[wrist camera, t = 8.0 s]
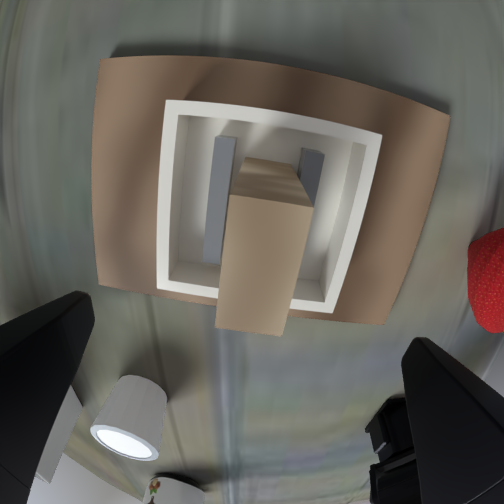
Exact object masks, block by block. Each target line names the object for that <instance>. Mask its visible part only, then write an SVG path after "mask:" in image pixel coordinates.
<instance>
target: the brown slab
mask: <svg viewBox="0 0 504 504" xmlns="http://www.w3.org/2000/svg"><path fill="white" fill-rule="evenodd" d="M166 100H183V101H198V102H210V103H221V104H230V105H239V106H247V107H254V108H261V109H268V110H274V111H280V112H286V113H291V114H297V115H302V116H307V117H312V118H317V119H321V120H326V121H330V122H335V123H339V124H343V125H347V126H351V127H355V128H359V129H363V130H366V131H370V132H373V133H377V134H380V135H382V140H381V145H380V150H379V154H378V159H377V163H376V168H375V172H374V176H373V180H372V184H371V188H370V192H369V196H368V200H367V204H366V208H365V211H364V215H363V219H362V222H361V226H360V230H359V233H358V236H357V240H356V243H355V247H354V250H353V253H352V256H351V260H350V263H349V266H348V269H347V272H346V275H345V278H344V281H343V284H342V287H341V290H340V293H339V296H338V299H337V302H336V305H335V308H334V311H333V313H324V312H315V311H307V310H298V309H290V308H289V312H288V315H287V316H293V317H302V318H311V319H320V320H330V321H341V322H352V323H364V324H376V325H384V324H385V321H386V319H387V317H388V315H389V313H390V311H391V308H392V306H393V304H394V301H395V299H396V297H397V295H398V292H399V290H400V287H401V285H402V283H403V280H404V278H405V275H406V273H407V270H408V267H409V265H410V262H411V259H412V257H413V254H414V251H415V249H416V246H417V243H418V240H419V237H420V234H421V231H422V228H423V225H424V222H425V219H426V216H427V212H428V209H429V206H430V203H431V199H432V196H433V192H434V188H435V185H436V181H437V177H438V173H439V169H440V165H441V161H442V156H443V152H444V147H445V143H446V138H447V133H448V127H449V122H450V116H449V115H447V114H445V113H442V112H440V111H438V110H435V109H433V108H431V107H428V106H426V105H423V104H421V103H418V102H416V101H413V100H410V99H408V98H405V97H402V96H400V95H397V94H394V93H391V92H388V91H385V90H382V89H379V88H376V87H373V86H369V85H366V84H363V83H359V82H356V81H352V80H348V79H345V78H341V77H337V76H333V75H329V74H325V73H320V72H316V71H311V70H306V69H301V68H296V67H291V66H285V65H279V64H273V63H266V62H259V61H251V60H242V59H232V58H221V57H205V56H175V55H162V56H132V57H117V58H106V59H100V64H99V71H98V78H97V86H96V95H95V106H94V118H93V134H92V169H91V178H92V214H93V231H94V244H95V255H96V264H97V273H98V281H99V285H104V286H108V287H113V288H118V289H123V290H128V291H133V292H138V293H143V294H148V295H154V296H159V297H165V298H170V299H176V300H182V301H188V302H194V303H200V304H206V305H212V306H217V301H218V299H217V298H211V297H204V296H198V295H192V294H186V293H180V292H174V291H168V290H163V289H157V204H158V183H159V167H160V153H161V141H162V131H163V121H164V112H165V103H166Z"/></svg>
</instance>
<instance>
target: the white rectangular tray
mask: <svg viewBox="0 0 504 504" xmlns="http://www.w3.org/2000/svg"><path fill="white" fill-rule="evenodd" d="M381 140H382V135H380V134H377V133H373V132H370V131H366V130H363V129H359V128H355V127H351V126H347V125H343V124H339V123H335V122H330V121H326V120H321V119H317V118H312V117H307V116H302V115H297V114H291V113H286V112H280V111H274V110H268V109H261V108H254V107H247V106H239V105H230V104H221V103H210V102H198V101H183V100H166V103H165V112H164V121H163V131H162V141H161V153H160V167H159V183H158V204H157V289H163V290H168V291H174V292H180V293H186V294H192V295H198V296H204V297H211V298H217V299H218V291H219V282H220V273H221V264H222V256H223V247H224V239H225V230H226V222H227V214H228V206H229V198H230V193H231V191H232V188H233V186H234V183H235V181H236V178H237V176H238V174H239V171H240V169H241V166H242V164H243V162H244V159H245V157H250V158H257V159H264V160H270V161H276V162H282V163H288V164H291V165H292V167H293V169H294V171H295V173H296V174H297V176H298V178H299V180H300V182H301V184H302V186H303V187H304V189H305V191H306V193H307V195H308V197H309V199H310V201H311V203H312V205H313V207H314V210H313V215H312V219H311V224H310V228H309V232H308V236H307V241H306V245H305V249H304V253H303V257H302V261H301V265H300V269H299V273H298V277H297V281H296V285H295V289H294V293H293V297H292V300H291V304H290V309H298V310H307V311H315V312H324V313H333V311H334V308H335V305H336V302H337V299H338V296H339V293H340V290H341V287H342V284H343V281H344V278H345V275H346V272H347V269H348V266H349V263H350V260H351V256H352V253H353V250H354V247H355V243H356V240H357V236H358V233H359V230H360V226H361V222H362V219H363V215H364V211H365V208H366V204H367V200H368V196H369V192H370V188H371V184H372V180H373V176H374V172H375V168H376V163H377V159H378V154H379V150H380V145H381Z"/></svg>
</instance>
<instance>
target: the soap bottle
mask: <svg viewBox="0 0 504 504" xmlns="http://www.w3.org/2000/svg"><path fill="white" fill-rule="evenodd" d="M82 409H83V407H82V405H81V403H80V401H79V399H78V398H77V396H76V394H75V392H74V390H73V388H72V386H71V385H70V387H69V390H68V392H67V394H66V396H65V399H64V401H63V403H62V406H61V408H60V410H59V413H58V415H57V417H56V420H55V422H54V425H53V427H52V430H51V432H50V435H49V437H48V440H47V443H46V445H45V448H44V451H43V453H42V456H41V459H40V462H39V465H38V468H37V471H36V474H35V477H37V478H39V479H41V480H43V481H45V482H47V483H51V480H52V477H53V475H54V473H55V470H56V468H57V465H58V463H59V460H60V458H61V456H62V453H63V451H64V449H65V446H66V444H67V442H68V439H69V437H70V435H71V433H72V430H73V428H74V426H75V424H76V422H77V419H78V417H79V415H80V413H81V411H82Z"/></svg>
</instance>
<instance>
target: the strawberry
mask: <svg viewBox="0 0 504 504" xmlns="http://www.w3.org/2000/svg"><path fill="white" fill-rule="evenodd" d="M467 279H468V298H469V302H470V304H471V307H472V310H473V313H474V316H475V319H476V321H477V323H478V324H479V325H480V326H482V327H483V328H484V329H485V330H487V331H488V332H490V333H499V332H503V333H504V228H501V229H498V230H496V231H493V232H490V233H488V234H486V235H484V236H483V237H481V238H480V239H478V240H475V241H473V242H472V243H471V244H470V246H469V249H468V267H467Z"/></svg>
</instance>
